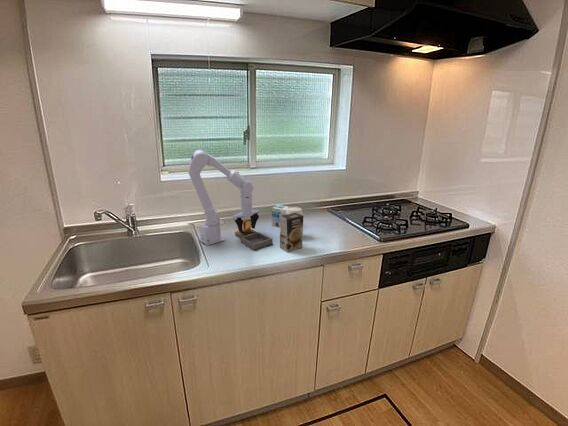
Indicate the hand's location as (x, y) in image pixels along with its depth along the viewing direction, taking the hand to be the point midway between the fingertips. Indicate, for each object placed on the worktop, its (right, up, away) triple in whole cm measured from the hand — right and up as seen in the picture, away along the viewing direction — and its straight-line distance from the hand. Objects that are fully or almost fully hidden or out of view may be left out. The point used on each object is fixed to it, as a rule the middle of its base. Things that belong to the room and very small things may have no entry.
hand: (246, 229), depth 161 cm
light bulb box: (+18, +1, +16) cm, 24 cm away
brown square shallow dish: (0, -3, +1) cm, 3 cm away
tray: (+6, -6, -8) cm, 12 cm away
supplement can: (+24, -4, +1) cm, 24 cm away
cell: (0, -3, +1) cm, 3 cm away
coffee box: (+22, -8, -12) cm, 26 cm away
